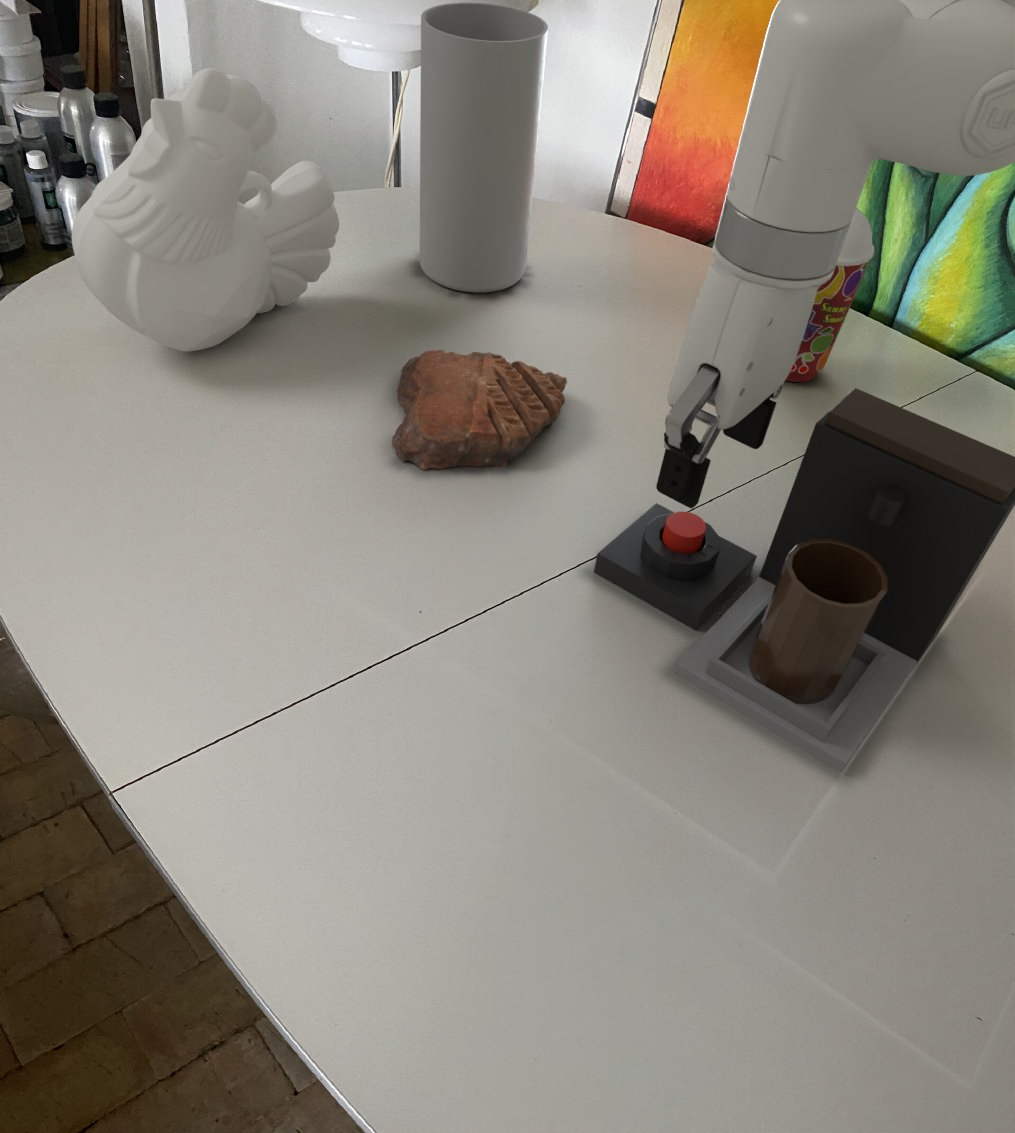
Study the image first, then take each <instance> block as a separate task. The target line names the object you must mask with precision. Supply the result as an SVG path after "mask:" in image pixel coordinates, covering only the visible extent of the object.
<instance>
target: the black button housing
mask: <svg viewBox="0 0 1015 1133" xmlns="http://www.w3.org/2000/svg"><path fill="white" fill-rule="evenodd" d="M673 513H675V511H672V510H670V509H669V508H667V507H665V506H663V505H661V504H659V503H657V502H656V503H654V504H653V505H652V506H651V507H650V508H648V509H647V510H646V511H645V512H644V513H643V514H641V515H640V516H639V517H638V518H637V519H635V520H634V521H633V522H632V523H631V524H630V525H629V526H627V527H626V528H625V529H624V530H623V531H622V532H620V534H618V535H617V536H616V537H615V538H614V539H612V540H611V541H609V543H607V544H606V546H605V547H602V549H601V550H599V552H597V554H596V559H595V564H594V569H593V573H594V574H595V575H597V576H599V577H601V578H602V579H603V580H606V581H607V582H609V583H610V584H612V585H615V586H616V587H618V588H620V589H622V590H623V591H626V592H627V593H629V594H631V595H632V596H634V597H635V598H637V599H639V600H640V601H643V602H645V603H646V604H648V605H650V606H651V607H653V608H655V609H657V610H659V611H660V612H662V613H664V614H666V615H667V616H669V617H670V618H672V619H674V620H675V621H678V622H680V623H681V624H683V625H684V626H686V627H688V628H690V629H691V630H694V631H695V632H697V631H698V630H699V629H700V628H702V626H703V625H704V624H705V623H706V622H707V621H708V619H709V618H711V616H713V615H714V613H716V611H717V610H718V609H719V608H720V607H721V606H722V605H723V604H724V603H725V602H726V601H727V600H728V599H729V598H730V597H731V596H732V595H733V594H734V593H735V592H736V591H737V589H739V587H740V586H741V585H742V584H743V583H744V582H745V581H746V580H747V579H749V577H750V576H751V574H752V571H753V568H754V566H755V563H756V560H757V558H758V556H757V554H754V553H752V552H750V551H749V550H747V549H745V548H743V547H742V546H740V545H737V544H735V543H734V542H731V541H730V540H728V539H726V538H724V537H722V536H720V535H719V534H718V533H717V532H716V530H715V529H714V527H712V525H711V524H709V523H708V522H706V521H704V522H705V524H706V531H705V534H704V538H703V541H702V545H701V547H700V549H699V550H698V551H696V552H694V553H690V554H685V553H678V552H675V551H673V550H671V549H669V548H667V547H666V546H665V544H664V543H663V540H662V536H663V532H664V528H665V524H666V520H667V518H668V517H669V516H670V515H671V514H673Z"/></svg>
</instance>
